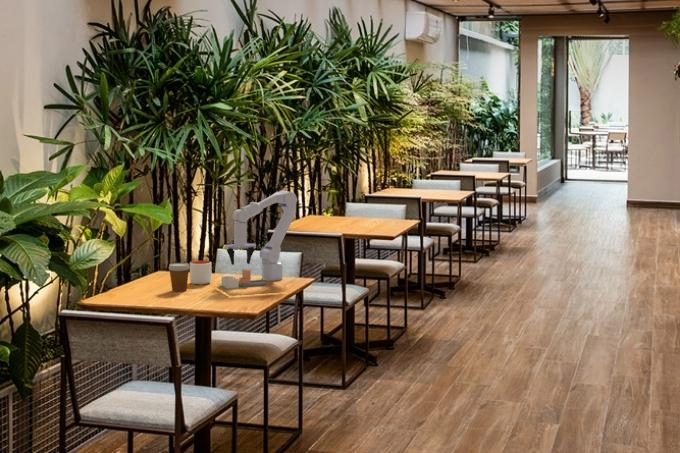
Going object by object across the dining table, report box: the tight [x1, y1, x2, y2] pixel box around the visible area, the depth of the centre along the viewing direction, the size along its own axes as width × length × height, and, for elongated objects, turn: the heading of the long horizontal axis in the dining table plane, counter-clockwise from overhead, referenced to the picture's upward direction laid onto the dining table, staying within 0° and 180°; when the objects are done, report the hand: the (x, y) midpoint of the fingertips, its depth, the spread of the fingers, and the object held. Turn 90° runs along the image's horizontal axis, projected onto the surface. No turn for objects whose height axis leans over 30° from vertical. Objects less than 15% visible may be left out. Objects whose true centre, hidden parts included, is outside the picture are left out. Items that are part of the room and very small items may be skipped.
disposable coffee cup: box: [168, 262, 190, 293], centre depth 457 cm, size 10×10×12 cm
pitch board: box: [217, 275, 269, 290], centre depth 468 cm, size 21×14×5 cm, turn 113°
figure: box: [238, 268, 252, 286], centre depth 466 cm, size 4×5×7 cm
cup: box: [189, 260, 212, 285], centre depth 476 cm, size 10×10×10 cm
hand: (240, 264), depth 475 cm, fingers open, 7 cm apart
